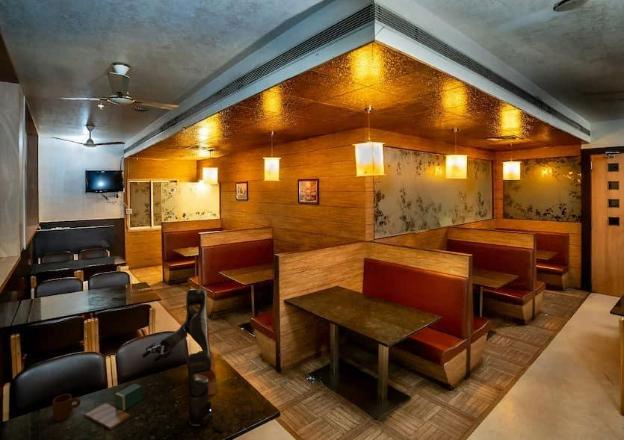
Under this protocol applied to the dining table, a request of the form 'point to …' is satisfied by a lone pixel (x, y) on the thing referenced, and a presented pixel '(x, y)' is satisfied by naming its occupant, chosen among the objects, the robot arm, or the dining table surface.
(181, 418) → the dining table surface
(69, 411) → the mug
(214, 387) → the bread
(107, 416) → the cork mat
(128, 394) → the carton
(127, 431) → the dining table surface
